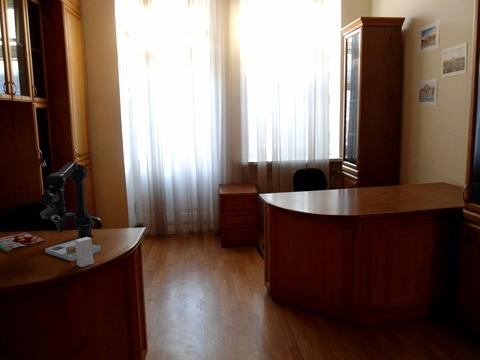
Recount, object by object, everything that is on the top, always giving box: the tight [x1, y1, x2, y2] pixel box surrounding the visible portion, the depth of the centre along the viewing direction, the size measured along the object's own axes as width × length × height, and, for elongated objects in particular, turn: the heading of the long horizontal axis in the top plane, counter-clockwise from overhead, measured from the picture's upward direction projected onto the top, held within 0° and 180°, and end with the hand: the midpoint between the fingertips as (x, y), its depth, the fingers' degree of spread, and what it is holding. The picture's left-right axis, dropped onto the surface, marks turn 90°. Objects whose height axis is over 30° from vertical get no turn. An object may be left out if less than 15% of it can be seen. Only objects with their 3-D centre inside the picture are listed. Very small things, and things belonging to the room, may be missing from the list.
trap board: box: [44, 239, 102, 262], centre depth 198 cm, size 16×22×3 cm
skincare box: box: [74, 237, 94, 268], centre depth 180 cm, size 6×4×12 cm
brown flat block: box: [66, 245, 76, 254], centre depth 192 cm, size 4×4×2 cm
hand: (60, 232), depth 194 cm, fingers closed
